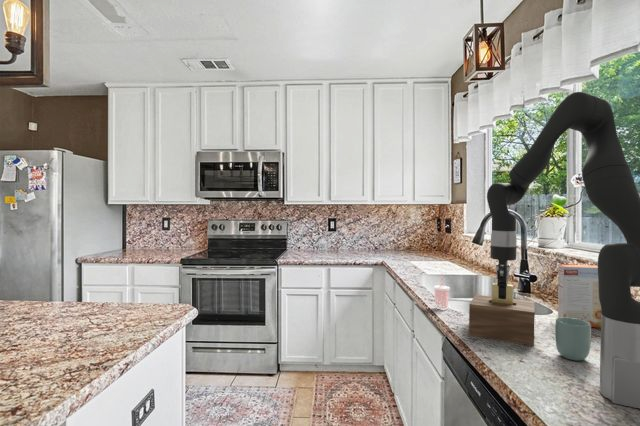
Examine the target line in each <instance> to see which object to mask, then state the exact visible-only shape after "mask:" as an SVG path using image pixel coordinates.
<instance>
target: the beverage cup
mask: <svg viewBox="0 0 640 426" xmlns="http://www.w3.org/2000/svg"><path fill="white" fill-rule="evenodd" d="M443 275H444V274H443V273H442V274H441V276H440V279H441V280H440V282H441V285H438V284H437V285H434V286H433V288H434V302H435V303H434V304H435V305H434V306H435V307H436V308H437V309H448V307H449V296H450V290H451V287H450V286H447V285H443V278H444V277H443ZM437 309H436V310H437Z"/></svg>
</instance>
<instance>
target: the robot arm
mask: <svg viewBox="0 0 640 426" xmlns="http://www.w3.org/2000/svg"><path fill="white" fill-rule="evenodd" d="M569 129H570V130H574V131H577V132H579V133H580V134H581V135H582V136H583V139H584V141H585V144H586V146H587V150H588V151H587V156H586V158H585V160H584V162H583V165H582V169H581V177H582V182H583V185H584V188H585V192H586V195H587V197H588V200H589V201H590V202H591V203H592V204H593V206H594V207H596V208H597V209H598V210H599V212H601V213H602V214H603V215H604V216H606V217H607V218H608V219H609V220H610V221H611V222H612V223H614V224H615V225H616V226H617V228H618V229H619V230H620V232H621V234H622V235H623V237H624V239H625V241H626V242H623V243H622V242H611V243H606V244H605V245H603V246H602V247H601V248H600V251H599V253H598V257H597V266H598V285H599V300H600V304H601V328H600V348H599V349H600V357H599V392H600V394H601V395H602V396H604V397H605V398H607V399H608V400H610V401H611V402H612V403H613V404H615V405H621V406H626V407H631V408H634V409H639V410H640V301H638V300H637V299H635V298H633V296H632V290H631V289H632V288H640V194H639V192H638V189H637V186H636V182H635V179H634V177H633V174H632V171H631V168H630V166H629V163H628V162H627V159H626V155H625V154H624V150H623V147H622V145H621V142H620V140H619V136H618V132H617V127H616V122H615V116H614V112H613V109H612V106H611V104H610V103H609V102H608V101H607V100H605V99H604V98H602V97H598V96H596V95H593V94H590V93H587V92H584V91H576V92H575V91H574V92H572V93H570V94H569V95H567V96H566V97H565V98H564V99H563V100H562V101H561V102H560V104H559V105H557V107H556V108H555V110H554V111H553V113H552V115H551V116H550V117H549V119H548V121H547V122H546V124H545V125H544V126H543V128H542V130H541V132H540V133H539V134H538V136H537V137H536V139H535V140H534V142H533V143H532V145H531V146H530V148H529V149H528V150H527V151H526V153H524V155H523V156H522V157H521V158H520V159H519V160H518V161H517V162H516V164H515V165H513V167H512V168H511V170H510V171H509V173H508V178H509V179H510V181H509V182H496V183H492V184H491V185H490V186H489V187H488V190H487V193H486V200H487V205H488V210H489V213H490V216H491V233H490V252H489V253H490V255H489V257H490V258H491V259H492V260H495V261H496V260H497V261H498V263H497V264H496V265H495V271H496V280H497V282H496V283H497V285H498V287H499V289H498V298H499V299H506V288H507V284H508V285H509V283H508V282H509V278H510V271H511V264H508V261H515V260H517V216H516V214H514V213H513V212H510V211H509V209H508V206H513V205H515V204H517V203H518V202H520V201H521V200H522V199H523V198H524V196H525V195H526V193H527V191H528V189H529V188H530V187H531V184H532V183H534V181H535V180H536V179H537V178H538V177H540V175H541V174H542V173H543V172H544V170H546V168H547V167H548V165H549V163H550V161H551V157H552V153H553V150H554V146H555V144H556V142H557V141H558V140H559V138H560V137H561V136H562V135H563V134H564V133H565V132H566V131H567V130H569Z"/></svg>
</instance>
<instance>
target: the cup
mask: <svg viewBox="0 0 640 426" xmlns="http://www.w3.org/2000/svg"><path fill="white" fill-rule="evenodd" d="M554 331H555V333H554V335H555V336H554V338H555V345H556V349H557V352H558V353H559V355H561V357H562V358H564V359H567V360H571V361H574V362H575V361H578V362H579V361H583V360H586V359H587V358H588V357H589V354H590V350H591V341H592V327H591V324H590V323H589V322H587V321H584V320H580V319H576V318H569V317H560V318H558V317H557V318H556V319H555V330H554Z"/></svg>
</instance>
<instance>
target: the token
mask: <svg viewBox="0 0 640 426" xmlns="http://www.w3.org/2000/svg"><path fill="white" fill-rule="evenodd" d="M497 283H498V282H493V283H492V284H491V296H492V303H500V304H507V305H513V299H514V284H509V283H508V284H507V288H506V299H499V298H498V289H499V287H498V285H497Z"/></svg>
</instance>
